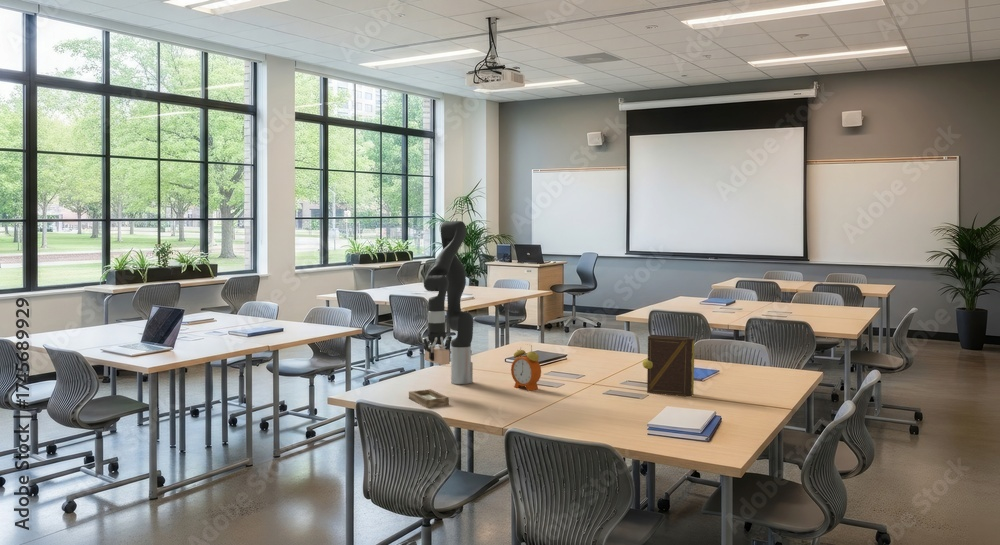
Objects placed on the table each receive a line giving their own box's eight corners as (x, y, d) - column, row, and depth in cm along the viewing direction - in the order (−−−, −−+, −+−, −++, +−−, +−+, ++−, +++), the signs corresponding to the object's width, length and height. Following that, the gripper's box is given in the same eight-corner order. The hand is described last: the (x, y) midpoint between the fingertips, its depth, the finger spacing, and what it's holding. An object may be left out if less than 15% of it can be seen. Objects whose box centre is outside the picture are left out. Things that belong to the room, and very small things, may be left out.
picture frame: (430, 396, 332) (430, 389, 332) (448, 404, 317) (448, 397, 316) (408, 398, 327) (408, 391, 327) (426, 407, 312) (426, 400, 311)
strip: (432, 359, 342) (432, 345, 342) (449, 364, 331) (449, 350, 330) (424, 360, 340) (424, 346, 339) (441, 365, 328) (441, 351, 328)
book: (694, 393, 338) (695, 336, 336) (690, 397, 330) (691, 339, 328) (645, 388, 347) (645, 333, 345) (640, 392, 339) (641, 336, 338)
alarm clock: (510, 387, 350) (510, 343, 349) (519, 385, 355) (519, 341, 353) (532, 391, 341) (532, 346, 340) (541, 389, 346) (541, 345, 344)
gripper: (447, 318, 341) (448, 357, 342) (417, 321, 333) (418, 360, 335) (455, 320, 334) (455, 360, 335) (425, 323, 327) (425, 363, 328)
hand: (437, 360), depth 335 cm, fingers closed on strip, 4 cm apart
